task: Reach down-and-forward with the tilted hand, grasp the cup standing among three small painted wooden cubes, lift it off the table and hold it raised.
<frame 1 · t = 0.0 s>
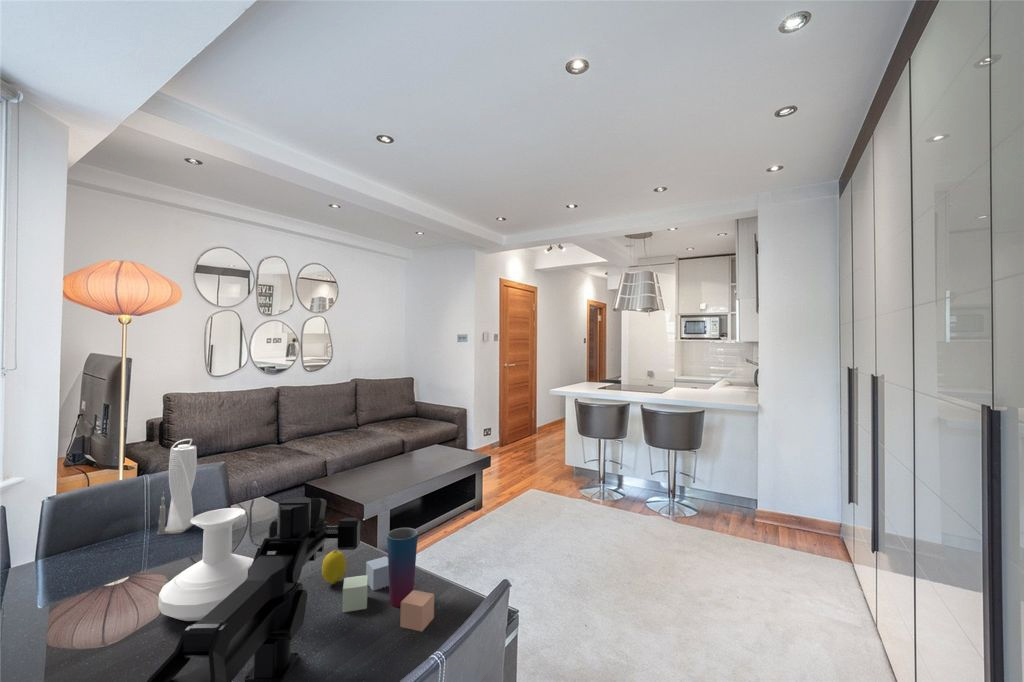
hand: (329, 520, 102), 17 cm above the table, tool horizontal, fingers open, 9 cm apart
block sage: (355, 604, 96), on the table
skyscraper: (179, 529, 139), on the table
block slate: (379, 583, 105), on the table
lemon: (333, 584, 105), on the table
cup: (401, 601, 98), on the table
candle holder: (215, 605, 96), on the table
block terracotta: (417, 622, 90), on the table
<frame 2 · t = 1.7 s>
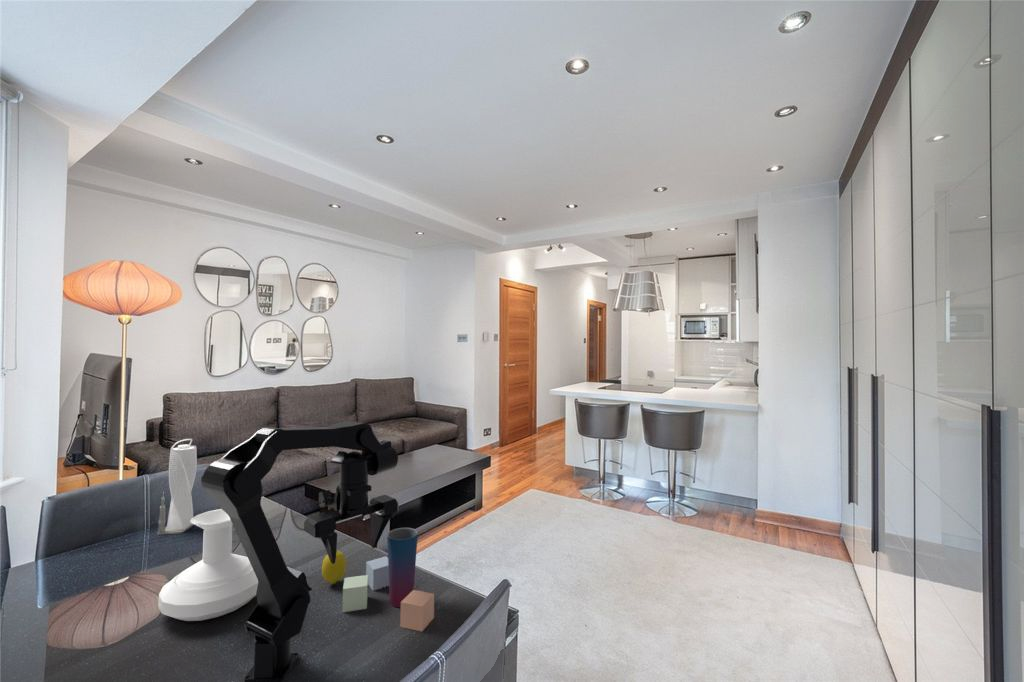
hand: (353, 555, 92), 13 cm above the table, tool pointing down, fingers open, 9 cm apart
nothing on the table moved.
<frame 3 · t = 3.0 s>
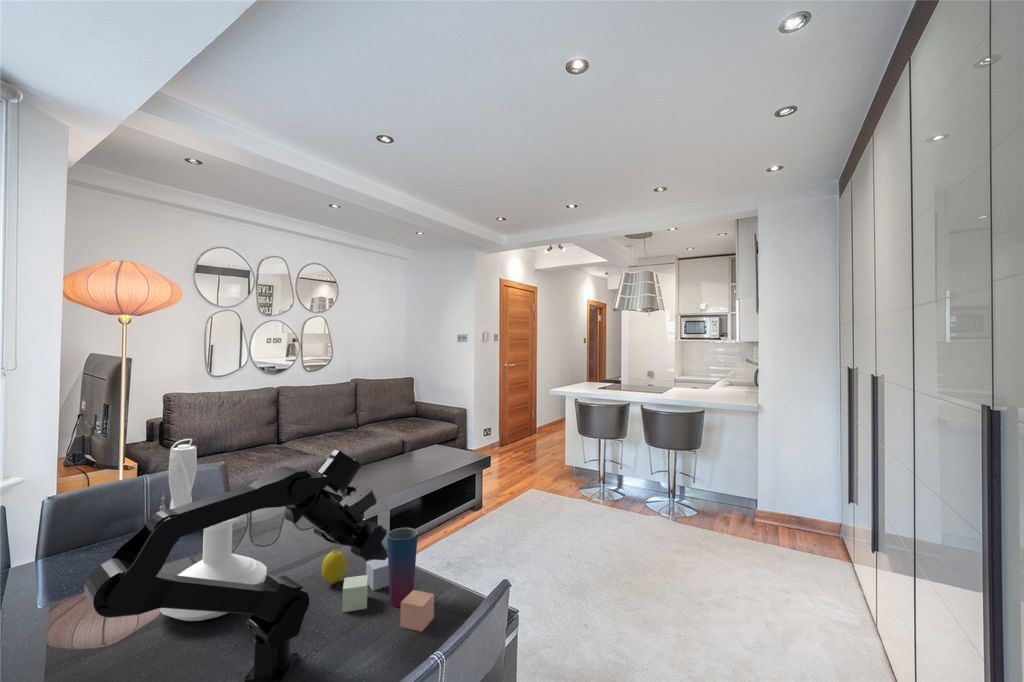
hand: (373, 551, 92), 13 cm above the table, tool tilted 45°, fingers open, 9 cm apart
nothing on the table moved.
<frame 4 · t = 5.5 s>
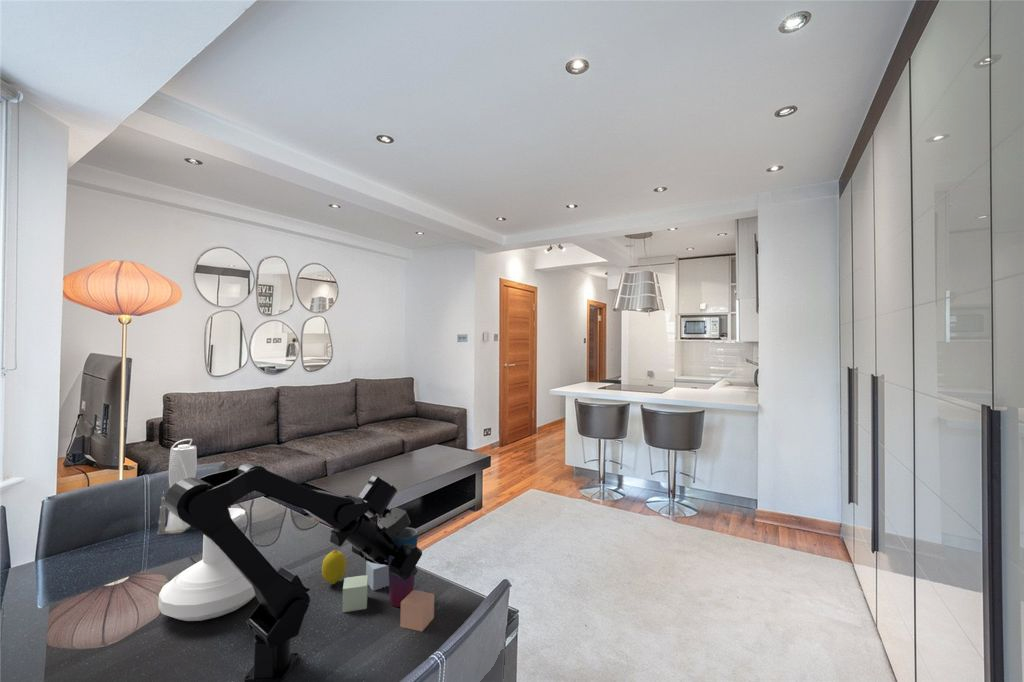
hand: (407, 568, 99), 7 cm above the table, tool tilted 45°, fingers closed on cup, 6 cm apart
cup: (401, 601, 98), on the table, touching gripper
everything else where it was.
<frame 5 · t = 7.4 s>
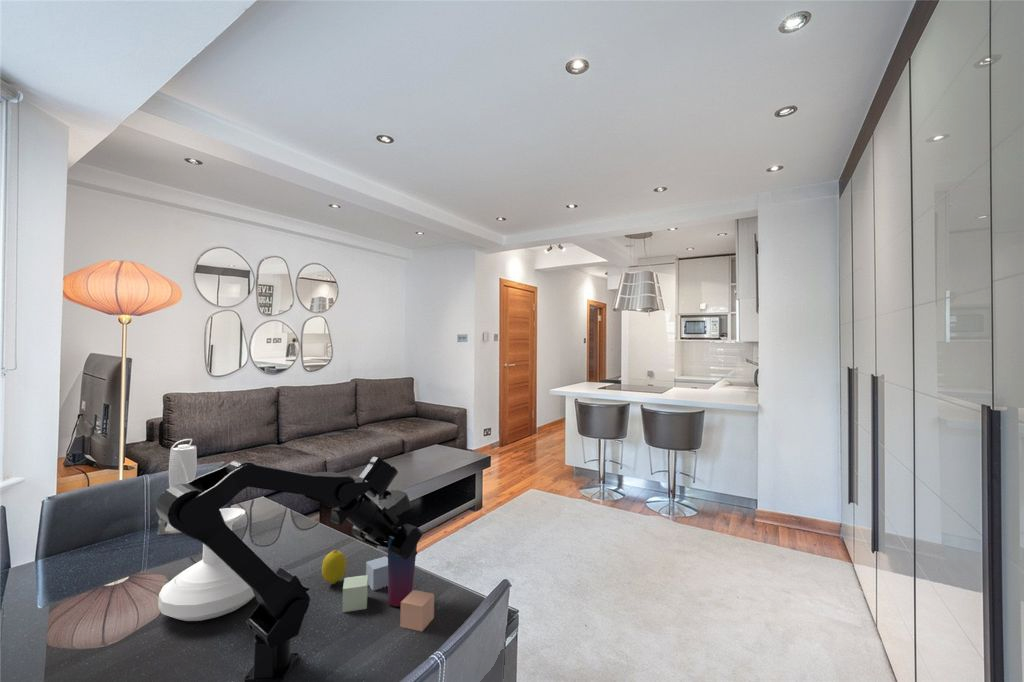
hand: (406, 551, 99), 11 cm above the table, tool tilted 45°, fingers closed on cup, 6 cm apart
cup: (399, 601, 97), on the table, touching gripper
everything else where it was.
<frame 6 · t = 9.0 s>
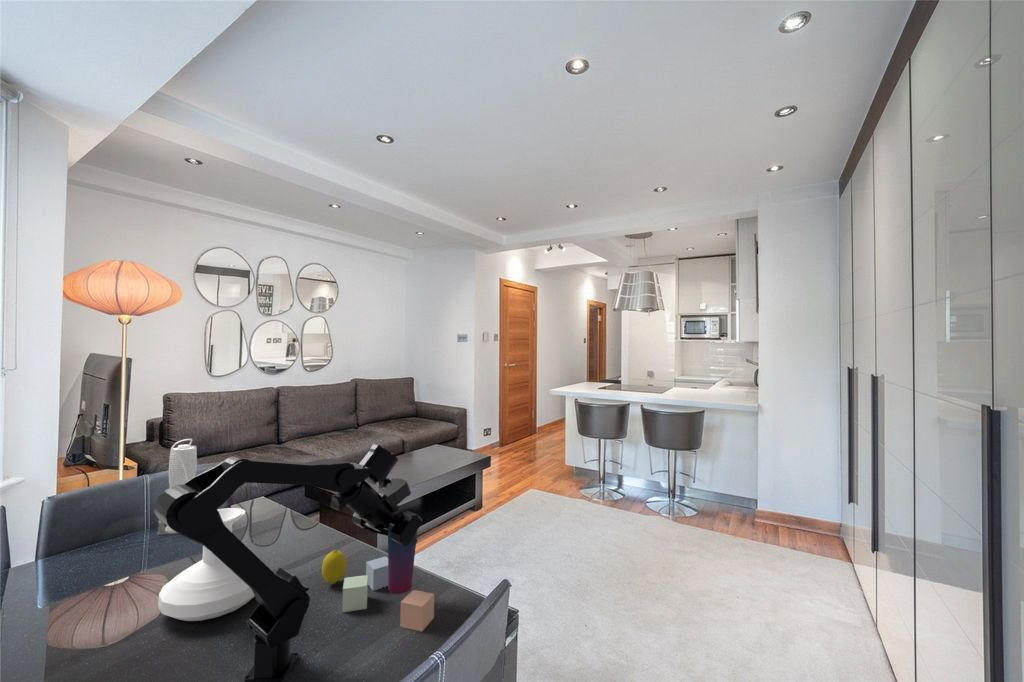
hand: (407, 539, 99), 13 cm above the table, tool tilted 45°, fingers closed on cup, 6 cm apart
cup: (399, 589, 97), point 3 cm above the table, touching gripper
everything else where it was.
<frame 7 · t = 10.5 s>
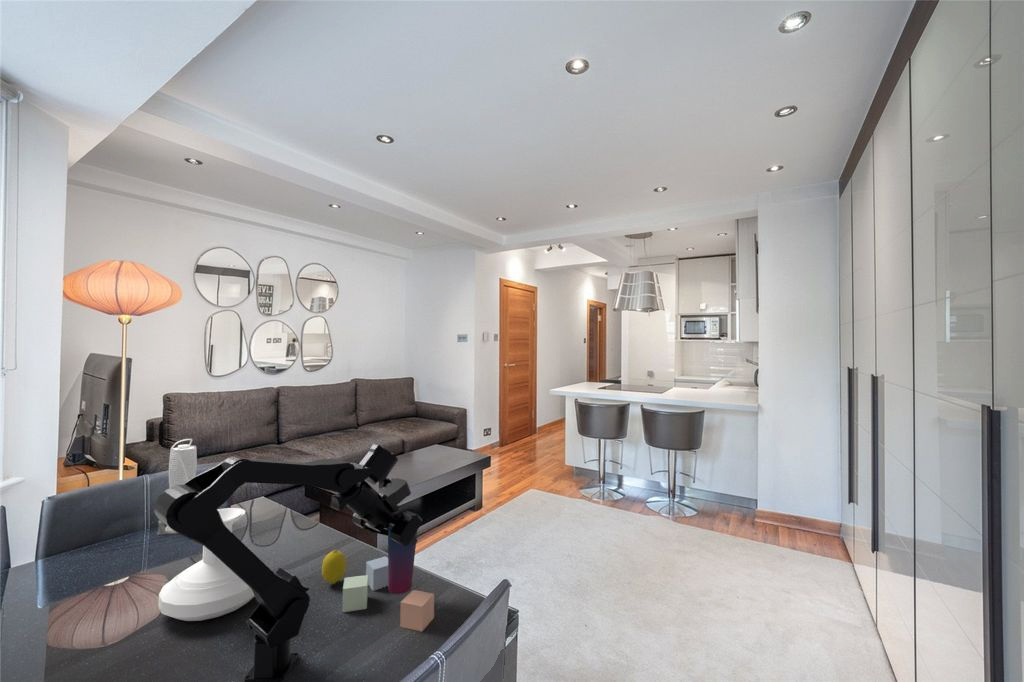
hand: (407, 539, 99), 13 cm above the table, tool tilted 45°, fingers closed on cup, 6 cm apart
cup: (399, 589, 97), point 3 cm above the table, touching gripper
everything else where it was.
at the end: the gripper is holding cup; cup touching gripper; block sage moved 0.1 cm from its start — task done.
